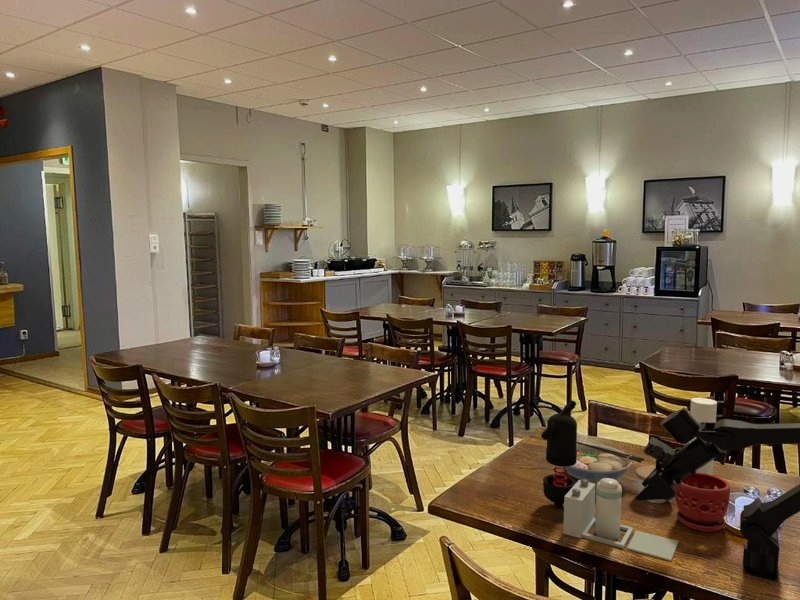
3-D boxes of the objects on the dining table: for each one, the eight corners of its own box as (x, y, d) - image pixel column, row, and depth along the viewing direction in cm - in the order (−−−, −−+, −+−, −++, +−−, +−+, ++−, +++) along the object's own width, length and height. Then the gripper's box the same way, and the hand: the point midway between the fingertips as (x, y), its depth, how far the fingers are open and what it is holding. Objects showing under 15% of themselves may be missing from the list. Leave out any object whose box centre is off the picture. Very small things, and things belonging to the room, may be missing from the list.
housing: (634, 529, 158) (635, 488, 156) (622, 550, 148) (624, 506, 146) (577, 514, 166) (578, 475, 164) (563, 533, 156) (564, 491, 155)
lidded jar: (628, 498, 176) (629, 467, 174) (644, 487, 183) (645, 457, 182) (665, 510, 168) (667, 478, 167) (680, 498, 175) (682, 467, 174)
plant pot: (738, 527, 159) (741, 483, 157) (707, 540, 152) (709, 495, 151) (692, 507, 170) (695, 466, 168) (661, 518, 163) (664, 476, 162)
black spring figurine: (558, 495, 178) (560, 396, 174) (584, 506, 171) (587, 403, 167) (527, 508, 170) (529, 404, 166) (553, 520, 163) (556, 412, 159)
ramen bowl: (537, 477, 191) (537, 452, 190) (577, 458, 206) (578, 435, 205) (610, 503, 172) (611, 476, 171) (648, 481, 188) (649, 455, 187)
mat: (678, 542, 151) (678, 541, 151) (671, 561, 143) (671, 559, 143) (636, 531, 156) (636, 530, 156) (626, 549, 148) (626, 547, 148)
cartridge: (622, 531, 157) (624, 480, 155) (616, 542, 151) (618, 488, 150) (598, 525, 160) (600, 474, 158) (591, 535, 155) (593, 483, 153)
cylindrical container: (717, 481, 187) (722, 402, 184) (700, 485, 184) (704, 405, 181) (698, 472, 193) (702, 396, 190) (681, 476, 191) (685, 399, 188)
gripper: (671, 419, 154) (624, 453, 161) (661, 442, 138) (609, 478, 145) (704, 455, 151) (654, 488, 158) (697, 482, 135) (642, 517, 142)
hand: (639, 491), depth 150 cm, fingers open, 9 cm apart
